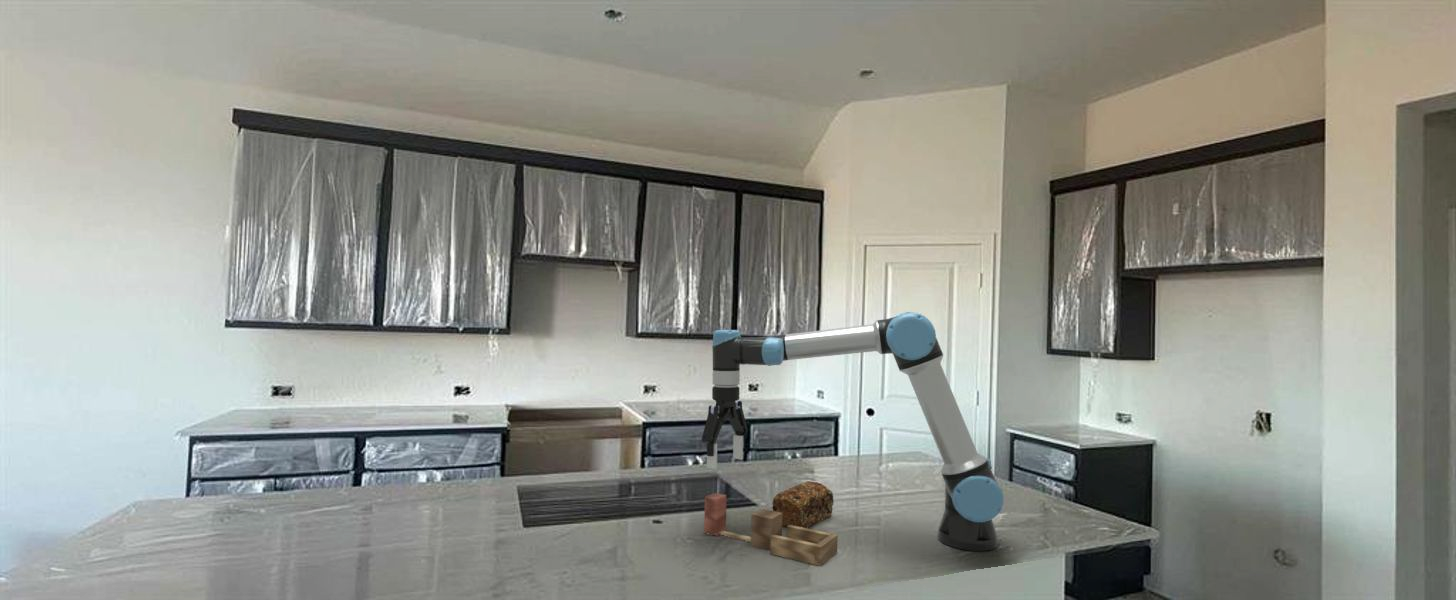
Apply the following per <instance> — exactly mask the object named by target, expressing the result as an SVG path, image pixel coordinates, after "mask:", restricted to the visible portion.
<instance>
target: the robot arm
mask: <svg viewBox="0 0 1456 600" xmlns="http://www.w3.org/2000/svg"><path fill="white" fill-rule="evenodd" d="M712 335H713V336H712V346H711V348H712V385H714V386H713V387H711V388H712V392H711V395H712V396H711V399H712V400H713V401H715V405H709V406H708V413H707V418H706V422H705V426H704V428H703V431H702V432H703V433H702V436H701V442H702V443H703V444H706V468H707V469H713V470H717V469H718V443H716V442H717V439H718V438H719V437H718V436H719V434H720V432H721V429H722V427H723V424H724V423H726V421H729V423H730V426H731V428H732V430H733V432H734V435H733V437H732V438H733V439H732V440H733V443H732V445H733V447H732V448H733V452H732V453H733V455H732V459H734V460H736V459H737V460H743V459H744V446H743V445H744V436H745V437H746V436H747V434H748V433H747V432H748V426H747V422H746V418H745V417H746V416H745V414H744V411H743V402H742V401H741V400H740V387H739V385H740V384H741V383H740V380H741V379H740V376H741V375H740V370H741V369H740V365H741V366H742V365H749V366H750V365H752V366H753V365H754V366H769V367H771V366H780V365H782V363H783V362H784V361H791V360H801V359H802V360H803V359H812V358H821V357H822V358H824V357H830V356H831V357H832V356H841V355H843V356H844V355H851V354H861V353H862V354H863V353H869V352H870V353H872V352H878V353H879V354H880V355H886V354H887V355H888V354H892V355H893V359H894V361H895V363H896V365H897V368H898V370H899V372H900V373H901V372H902V373H903V374H905V375H907V377H908V379H909V382H910V384H911V386H912V388H913V391H914V393H915V395H916V396H915V397H916V398H917V401H918V403H919V405H920V408H921V410H922V413H923V415H924V418H925V421H926V422H927V424H928V425H927V426H928V428H929V430H930V432H931V435H932V437H933V440H934V442H935V445H936V448H937V450H938V452H939V454H940V457H941V460H942V461H943V465H942V468H941V469H940V474H941V475H942V478H943V481H944V486H945V487H944V488H945V491H944V511H943V515H942V517H941V520H940V523H939V526H938V529H937V538H938V540H939V541H940V542H941V543H943V544H944V545H945V546H946V545H947V546H949V547H951V548H955V549H959V550H965V551H970V552H971V551H973V552H985V551H986V552H987V551H992V550H995V549H997V547H998V544H999V543H998V541H999V538H998V534H997V531H996V527H995V524H994V522H993V519H995V518H997V516H998V515H999V514H1000V513H1001V511H1002V509H1003V506H1004V492H1003V490H1002V488H1001V486H1000V485H999V484H998V483H997V480H996V477H995V474H994V473H993V470H992V469H993V466H992V461H991V459H990V458H988V457H986V456H985V455H982V454H980V453H979V452H978V451H977V449H976V446H975V444H974V442H973V438H972V436H971V435H970V432H969V429H968V427H967V424H966V422H965V420H964V417H963V415H962V413H961V410H960V408H959V407H960V406H959V405H958V403H957V401H956V398H955V395H954V393H953V390H952V388H951V386H950V384H949V382H948V381H949V380H948V378H947V377H946V374H945V372H944V369H943V367H942V364H941V362H942V360H943V357H944V356H945V355H944V353H943V351H942V348H941V345H940V343H939V341H938V338H937V334H936V330H935V326H934V325H933V323H932V321H930V319H928V317H926V316H925V315H923V314H921V313H918V312H914V311H906V312H903V313H900V314H898V315H896V316H893V317H889V318H884V319H883V318H882V319H877V320H875V322H874V323H872V324H865V325H856V326H848V327H847V326H846V327H838V328H829V329H822V330H814V331H813V330H812V331H803V332H795V333H786V334H778V335H768V336H762V337H759V336H757V337H756V336H755V337H744V336H741V334H740V331H739V330H737V329H717V330H715V331H714V332H713V334H712Z"/></svg>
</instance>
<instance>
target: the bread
mask: <svg viewBox="0 0 1456 600" xmlns="http://www.w3.org/2000/svg"><path fill="white" fill-rule="evenodd" d="M834 504H835V503H834V493H833V492H832V490H831V489H829V488H828V487H827V486H825V485H823V484H822V483H821V482H820V483H819V482H818V481H809V480H808V481H805V482H801V483H799V484H796V485H794V486H792V487H789V488H788V489H785V490H783V491H780V492H779V493H777V494H776V495H774V497H773V499H772V508H771V510H772V511H775V512H780V513H782V525H783V526H782V527H787V526H788V525H793V526H798V527H803V528H807V527H808V528H809V526H811V527H813V526H815V525H817V524H819V523H821V522H823V521H825V520H827V519H829V517H831V516H832V513H833V510H834V509H833V506H834ZM826 518H827V519H826ZM818 522H819V523H818ZM816 523H817V524H816ZM812 525H813V526H812ZM808 528H807V529H808Z"/></svg>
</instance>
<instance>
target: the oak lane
mask: <svg viewBox="0 0 1456 600" xmlns="http://www.w3.org/2000/svg"><path fill="white" fill-rule="evenodd" d="M838 536H839V535H838V534H837V533H836V534H835V533H831V532H826V531H821V530H815V529H812V528H803V527H798V526H793V525H788V526H786V536H783V535H782V536H778V535H772V536H771V550H769V551H770V555H773V556H778V557H782V558H786V559H791V560H795V561H799V562H803V563H808V564H812V565H817V566H822V565H823V564H825V563H826V562H827V561H829V560H830V559H831V558H832V557H834V555H836V554H838Z"/></svg>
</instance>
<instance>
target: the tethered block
mask: <svg viewBox="0 0 1456 600" xmlns="http://www.w3.org/2000/svg"><path fill="white" fill-rule="evenodd" d="M750 516H751V520H750V521H751V522H750V536H748V535H744V534H739V533H734V532H731V531H726V529H727V494H722V493H716V492H713V493H711V494H708V495H707V496H705V497H704V517H703V518H704V519H703V520H704V525H703V527H704V528H703V530H704V532H705V533H709V534H712V535H716V536H717V535H718V536H722V535H724V536H723V537H726V536H728V537H727V538H730V537H732V539H735V538H736V539H735V540H739V539H740V540H741V541H743V540H745V541H744V542H748V541H749V542H748V543H750V546H751V547H755V546H756V547H757V548H759V549H760V548H761V549H764V550H768V551H770V550H771V536H772V535H778V536H783V526H782V513H780V512H775V511H773V510H770V509H765V508H761V509H759V510H758V511H755V512H754V513H752V514H751V515H750ZM704 532H703V533H704ZM719 534H720V535H719ZM712 535H711V536H712ZM716 536H715V537H716ZM718 536H717V537H718Z"/></svg>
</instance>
